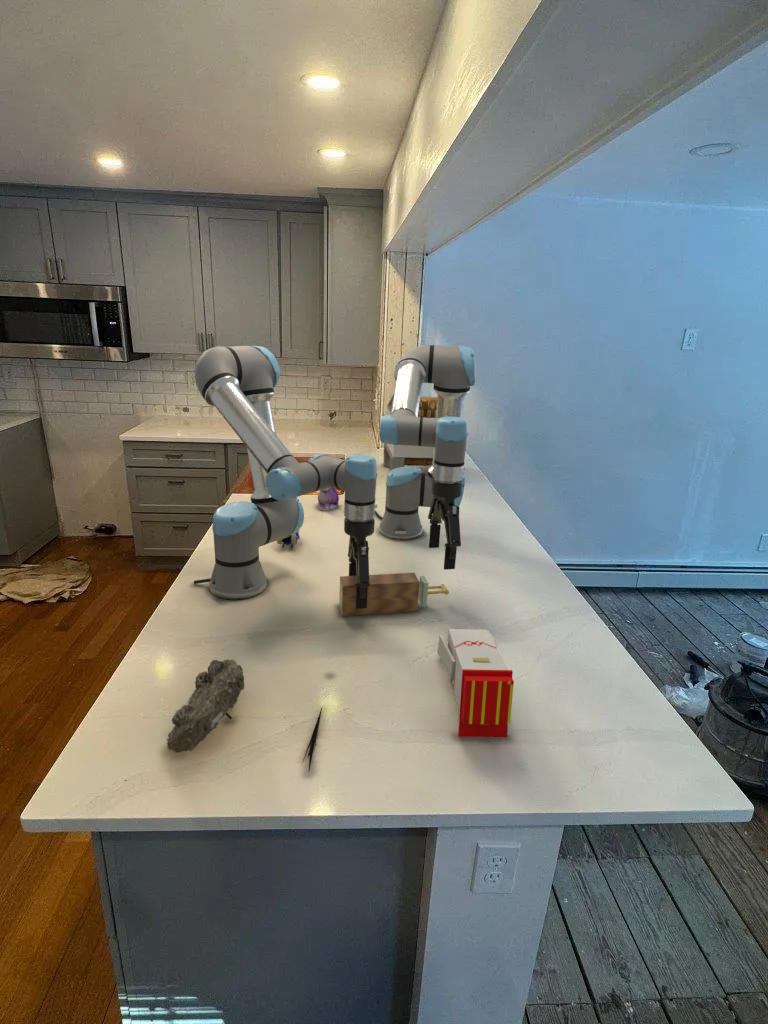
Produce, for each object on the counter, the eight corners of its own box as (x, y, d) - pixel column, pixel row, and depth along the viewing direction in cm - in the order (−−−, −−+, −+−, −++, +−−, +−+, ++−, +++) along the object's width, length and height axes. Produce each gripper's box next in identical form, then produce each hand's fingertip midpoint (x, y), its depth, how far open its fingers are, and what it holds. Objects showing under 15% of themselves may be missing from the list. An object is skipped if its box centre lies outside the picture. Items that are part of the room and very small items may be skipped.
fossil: (192, 660, 117) (244, 628, 112) (224, 691, 120) (276, 661, 115) (142, 746, 98) (202, 712, 93) (182, 779, 101) (242, 748, 96)
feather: (331, 679, 122) (336, 673, 122) (307, 777, 96) (313, 769, 95) (324, 675, 122) (329, 669, 121) (298, 772, 95) (304, 764, 95)
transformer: (382, 463, 289) (386, 382, 275) (445, 464, 293) (451, 384, 279) (390, 482, 257) (394, 392, 243) (460, 483, 261) (468, 394, 247)
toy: (488, 613, 130) (523, 677, 101) (484, 667, 133) (517, 744, 104) (435, 612, 130) (455, 676, 101) (432, 666, 133) (451, 743, 103)
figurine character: (297, 555, 182) (302, 533, 196) (296, 534, 179) (302, 513, 192) (276, 554, 182) (283, 532, 195) (275, 534, 178) (282, 512, 192)
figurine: (321, 512, 217) (321, 474, 212) (311, 504, 225) (311, 467, 220) (344, 509, 221) (344, 472, 216) (333, 501, 229) (334, 465, 224)
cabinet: (412, 601, 154) (414, 572, 151) (417, 611, 149) (419, 581, 146) (339, 605, 150) (339, 576, 147) (342, 616, 145) (342, 585, 142)
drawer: (443, 597, 155) (445, 574, 153) (448, 605, 151) (450, 581, 149) (353, 603, 150) (353, 579, 148) (355, 611, 146) (356, 587, 144)
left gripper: (384, 535, 130) (380, 618, 137) (366, 501, 152) (363, 575, 159) (351, 536, 128) (349, 620, 136) (338, 502, 150) (337, 576, 157)
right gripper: (479, 495, 131) (471, 577, 138) (446, 466, 154) (440, 538, 161) (448, 495, 129) (441, 579, 136) (420, 466, 152) (415, 539, 159)
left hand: (357, 596), depth 147 cm, fingers open, 11 cm apart
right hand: (441, 557), depth 149 cm, fingers open, 13 cm apart
